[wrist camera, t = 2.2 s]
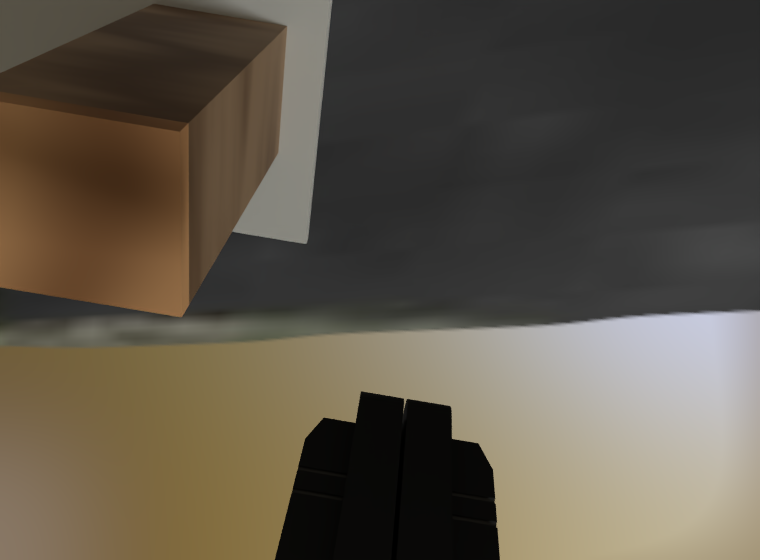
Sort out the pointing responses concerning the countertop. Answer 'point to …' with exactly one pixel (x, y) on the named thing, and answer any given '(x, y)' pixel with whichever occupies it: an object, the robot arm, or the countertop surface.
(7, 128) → the walnut block
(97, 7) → the grey mat
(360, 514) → the robot arm
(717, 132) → the countertop surface
